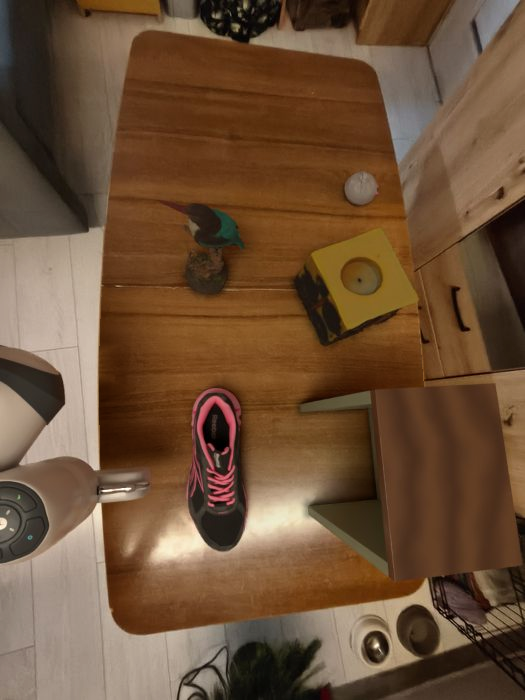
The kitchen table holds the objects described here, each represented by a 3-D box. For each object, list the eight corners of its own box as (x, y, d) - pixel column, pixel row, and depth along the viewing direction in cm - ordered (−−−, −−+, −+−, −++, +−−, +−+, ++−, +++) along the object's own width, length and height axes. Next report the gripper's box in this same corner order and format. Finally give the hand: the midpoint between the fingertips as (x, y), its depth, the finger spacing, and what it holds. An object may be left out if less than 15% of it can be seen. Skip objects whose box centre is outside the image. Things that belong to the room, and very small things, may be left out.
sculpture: (166, 250, 82) (155, 176, 58) (239, 257, 84) (258, 189, 60) (163, 290, 81) (150, 233, 56) (237, 297, 83) (255, 244, 58)
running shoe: (190, 549, 74) (189, 575, 61) (179, 391, 78) (176, 385, 65) (251, 540, 75) (263, 563, 63) (238, 386, 80) (246, 379, 67)
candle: (385, 322, 87) (423, 301, 72) (321, 349, 84) (348, 333, 69) (354, 256, 88) (385, 223, 74) (290, 281, 85) (309, 251, 71)
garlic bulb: (371, 213, 91) (387, 193, 83) (339, 208, 90) (353, 188, 82) (371, 185, 92) (388, 162, 84) (340, 180, 91) (354, 157, 83)
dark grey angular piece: (308, 514, 78) (388, 577, 46) (300, 404, 81) (369, 390, 49) (385, 506, 80) (513, 561, 48) (374, 400, 84) (487, 384, 51)
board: (388, 577, 46) (394, 582, 44) (369, 390, 49) (374, 389, 48) (513, 561, 48) (523, 565, 47) (487, 384, 51) (495, 383, 50)
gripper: (146, 461, 54) (157, 454, 67) (-31, 474, 51) (17, 464, 64) (147, 513, 53) (158, 495, 66) (-34, 530, 50) (16, 507, 63)
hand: (87, 480), depth 65 cm, fingers closed
